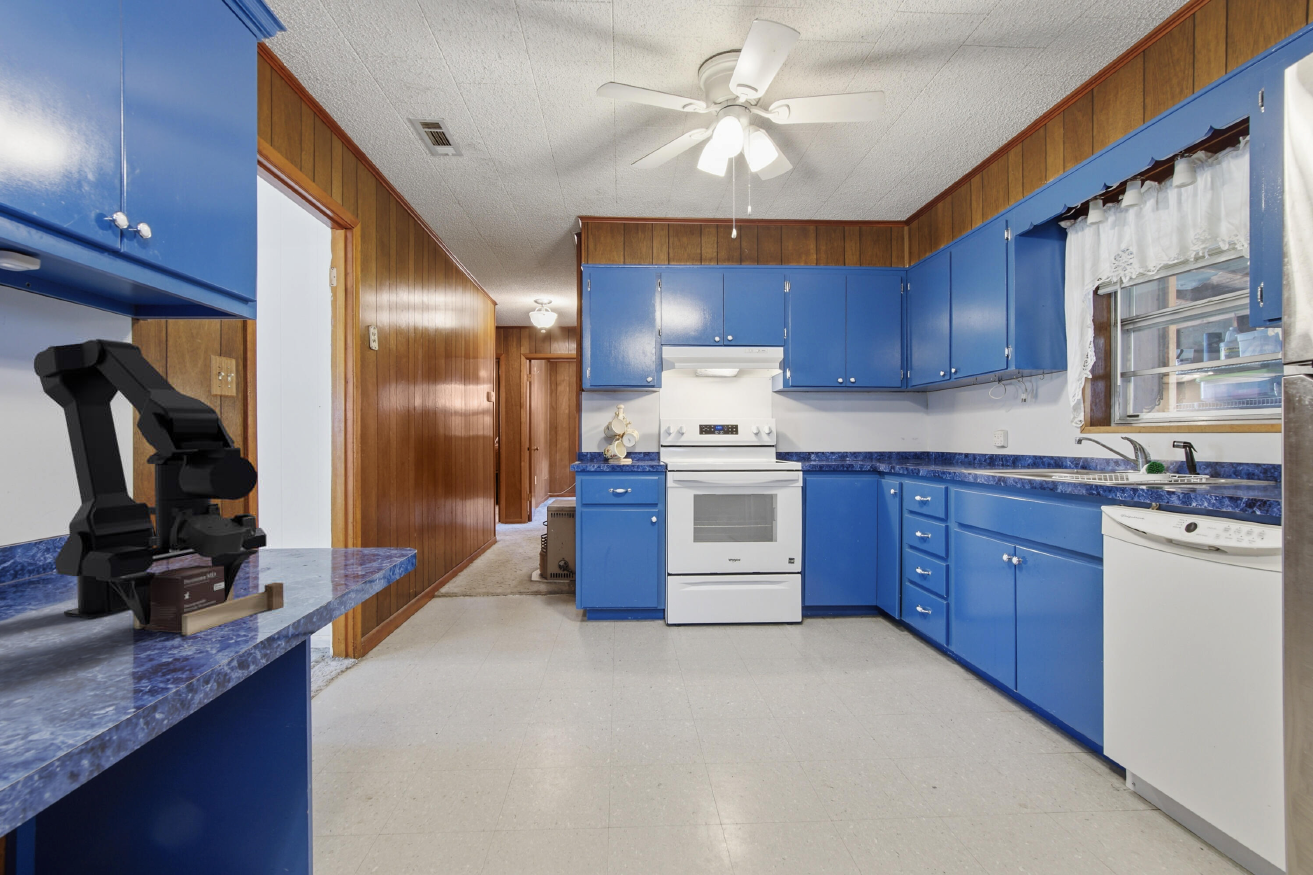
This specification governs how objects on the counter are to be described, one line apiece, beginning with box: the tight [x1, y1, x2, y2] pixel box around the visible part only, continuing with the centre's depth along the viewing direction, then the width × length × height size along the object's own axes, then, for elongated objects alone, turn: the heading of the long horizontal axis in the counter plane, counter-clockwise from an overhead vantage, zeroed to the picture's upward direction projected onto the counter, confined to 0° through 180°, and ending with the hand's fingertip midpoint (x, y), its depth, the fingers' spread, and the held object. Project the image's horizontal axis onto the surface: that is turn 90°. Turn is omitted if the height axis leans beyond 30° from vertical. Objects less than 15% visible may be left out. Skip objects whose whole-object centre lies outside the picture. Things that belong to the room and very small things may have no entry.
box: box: [144, 564, 225, 633], centre depth 72 cm, size 6×6×7 cm
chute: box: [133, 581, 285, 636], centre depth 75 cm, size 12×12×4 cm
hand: (185, 612), depth 72 cm, fingers open, 9 cm apart
